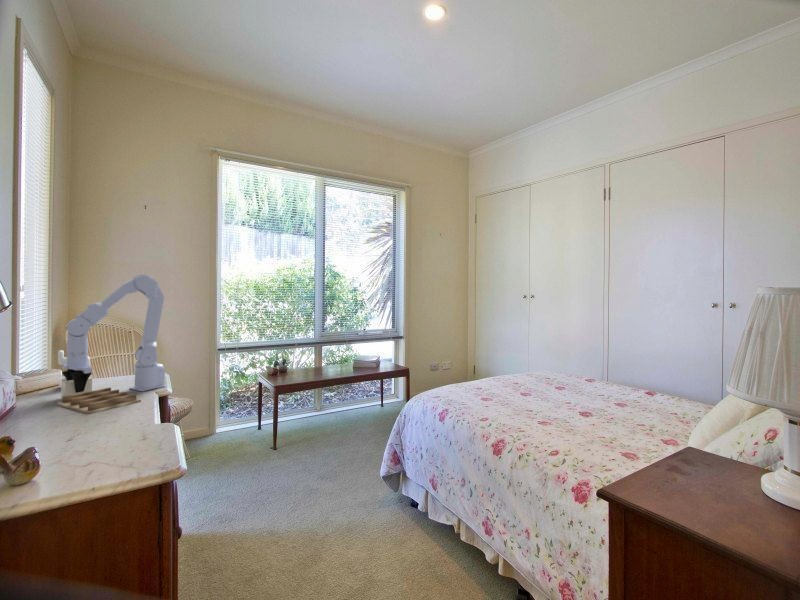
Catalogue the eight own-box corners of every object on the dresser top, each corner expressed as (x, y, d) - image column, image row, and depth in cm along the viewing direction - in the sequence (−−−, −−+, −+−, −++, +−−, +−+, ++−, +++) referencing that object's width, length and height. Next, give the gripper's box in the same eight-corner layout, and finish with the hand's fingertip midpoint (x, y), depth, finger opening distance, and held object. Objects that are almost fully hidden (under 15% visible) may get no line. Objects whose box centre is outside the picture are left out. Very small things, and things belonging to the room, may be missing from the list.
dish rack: (110, 393, 141) (110, 386, 141) (141, 401, 134) (141, 393, 134) (57, 404, 127) (57, 396, 127) (87, 414, 119) (87, 405, 119)
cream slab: (87, 393, 141) (88, 377, 140) (91, 394, 140) (92, 378, 139) (61, 398, 133) (61, 381, 133) (64, 400, 132) (65, 382, 132)
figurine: (89, 387, 148) (90, 348, 148) (57, 390, 143) (57, 350, 142) (89, 383, 154) (90, 345, 154) (58, 386, 148) (58, 347, 148)
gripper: (52, 352, 136) (52, 390, 136) (75, 356, 129) (74, 396, 130) (76, 349, 142) (75, 386, 142) (98, 353, 136) (98, 392, 136)
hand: (76, 391), depth 136 cm, fingers open, 3 cm apart
